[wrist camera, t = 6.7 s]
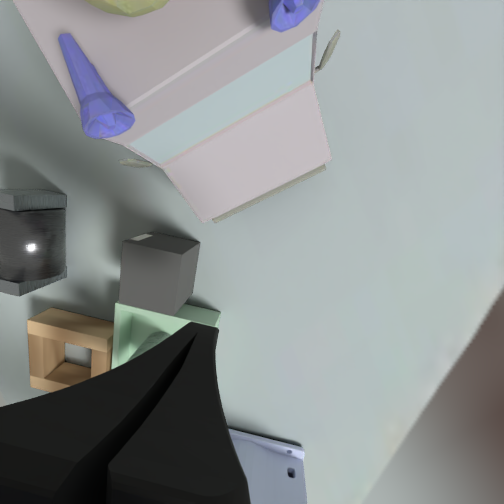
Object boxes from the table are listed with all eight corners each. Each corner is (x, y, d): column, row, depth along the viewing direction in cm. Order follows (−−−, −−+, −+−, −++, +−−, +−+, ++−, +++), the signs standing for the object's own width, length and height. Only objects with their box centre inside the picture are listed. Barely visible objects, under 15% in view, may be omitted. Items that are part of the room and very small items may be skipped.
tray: (220, 312, 20) (214, 326, 18) (205, 395, 23) (198, 416, 20) (131, 291, 21) (115, 302, 18) (125, 375, 23) (110, 393, 21)
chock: (200, 242, 19) (181, 254, 15) (193, 292, 20) (173, 316, 16) (153, 231, 19) (122, 241, 15) (147, 282, 20) (118, 302, 17)
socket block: (123, 324, 22) (107, 339, 19) (119, 386, 23) (104, 405, 21) (51, 307, 22) (27, 319, 20) (52, 369, 24) (30, 387, 21)
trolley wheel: (78, 197, 19) (27, 198, 15) (77, 279, 21) (32, 299, 17) (31, 187, 19) (-31, 185, 15) (34, 269, 21) (-20, 287, 17)
